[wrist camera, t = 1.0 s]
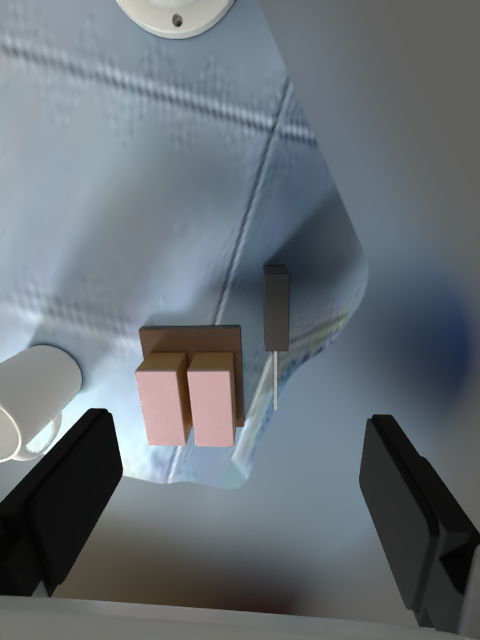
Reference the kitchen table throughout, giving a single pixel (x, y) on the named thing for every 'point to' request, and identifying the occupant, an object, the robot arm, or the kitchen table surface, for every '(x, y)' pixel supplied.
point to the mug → (34, 397)
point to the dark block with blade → (276, 314)
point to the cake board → (198, 348)
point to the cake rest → (165, 398)
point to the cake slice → (213, 398)
